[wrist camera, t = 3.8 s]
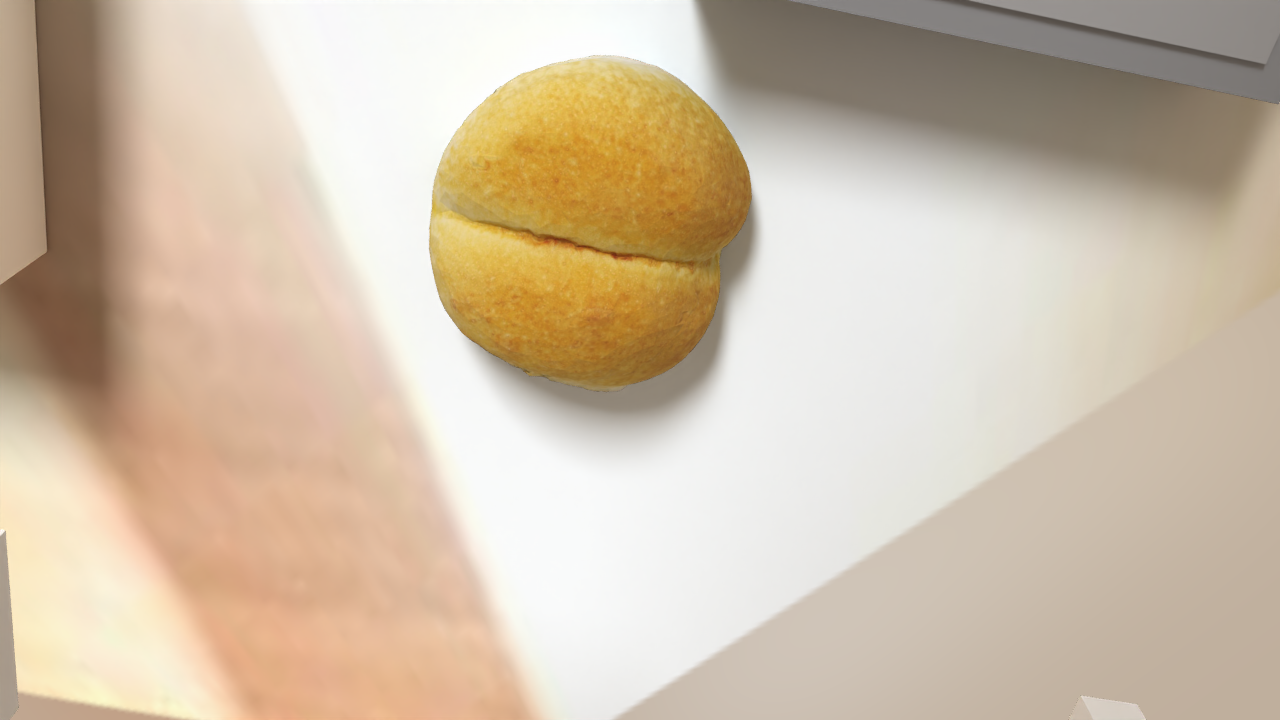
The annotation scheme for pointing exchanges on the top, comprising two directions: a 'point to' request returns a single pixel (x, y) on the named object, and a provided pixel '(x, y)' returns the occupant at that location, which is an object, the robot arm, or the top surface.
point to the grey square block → (1115, 34)
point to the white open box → (20, 141)
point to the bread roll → (587, 221)
